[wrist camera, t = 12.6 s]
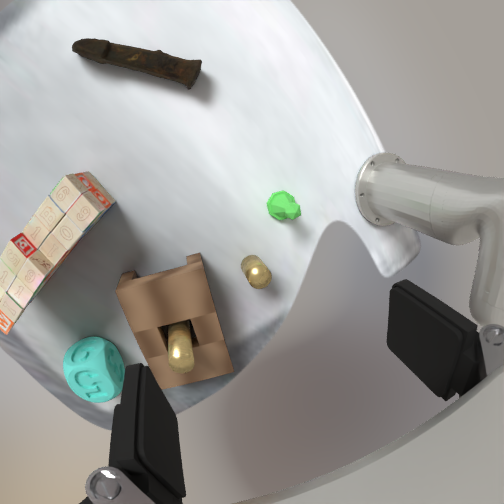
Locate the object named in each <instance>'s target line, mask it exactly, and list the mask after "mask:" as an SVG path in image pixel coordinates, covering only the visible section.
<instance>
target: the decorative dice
mask: <svg viewBox="0 0 504 504" xmlns="http://www.w3.org/2000/svg"><path fill="white" fill-rule="evenodd" d="M63 369H64V374H65V378H66V380H67V383H68V384H69V386H70V388H71V389H72V390H73V391H74V392H75V393H76V394H77V395H78V396H79V397H81V398H83V399H85V400H87V401H90V402H97V403H100V402H106V401H109V400H111V399H113V398H115V397H116V396H117V395H118V394H119V393H120V392H121V391H122V388H123V381H124V374H125V368H124V364H123V361H122V358H121V355H120V353H119V351H118V350H117V348H116V347H115V345H114V344H112V343H111V342H109V341H108V340H106V339H103V338H101V337H95V336H94V337H87V338H84V339H82V340H80V341H78V342H76V343H75V344H74V345H72V346H71V347H70V348H69V349H68V350H67V352H66V354H65V356H64V360H63Z"/></svg>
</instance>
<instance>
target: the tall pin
mask: <svg viewBox="0 0 504 504" xmlns="http://www.w3.org/2000/svg"><path fill="white" fill-rule="evenodd" d="M168 358H169V367H170V368H171V370H173V371H174V372H176V373H187V372H189V371H191V370H192V369H193V367H194V356H193V348H192V341H191V332H190V324H189V319H187V320H184V321H180V322H176V323H172V324H168Z"/></svg>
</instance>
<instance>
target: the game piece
mask: <svg viewBox="0 0 504 504" xmlns="http://www.w3.org/2000/svg"><path fill="white" fill-rule="evenodd" d="M267 207H268V211H269V214H270V215H272V216H273V217H275V218H277V219H279V220H283V219H286V218H290V219H292V220H293V219H295V218H297V217H299V216H300V215H301V211H300V205H298V204H296V203H295V200H294V197H293V196H292V195H290V194H289V193H287V192H285V191H279V192H276V193H272V195H271V197H270V198H269V200H268V202H267Z"/></svg>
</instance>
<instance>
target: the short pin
mask: <svg viewBox="0 0 504 504" xmlns="http://www.w3.org/2000/svg"><path fill="white" fill-rule="evenodd" d="M241 269H242V271H243V273H244V274H245V276H246V278H247V280H248V281H249V283H250V285H251V286H252V287H254V288H256V289H262V288H264V287H266V286H267V285H268V284H269V283H270V281H271V278H272V276H271V272H270V271H269V270H268V268H267V267H266V266H265V264H264V263H263V262H262V261H261V259H260V258H259V257H257V256H255V255H250V256H247V257H245V258H244V259H243V261H242V263H241Z"/></svg>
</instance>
